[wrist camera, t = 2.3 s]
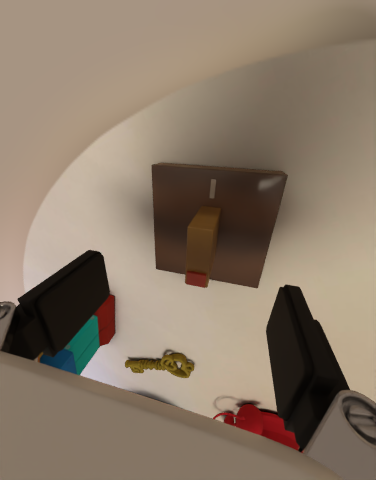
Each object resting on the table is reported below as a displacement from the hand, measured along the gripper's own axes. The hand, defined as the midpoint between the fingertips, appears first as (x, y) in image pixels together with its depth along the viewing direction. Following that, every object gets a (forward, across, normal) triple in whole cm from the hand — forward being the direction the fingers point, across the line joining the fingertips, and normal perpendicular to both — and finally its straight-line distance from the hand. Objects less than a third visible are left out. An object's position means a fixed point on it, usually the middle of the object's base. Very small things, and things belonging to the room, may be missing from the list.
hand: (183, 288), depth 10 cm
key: (+10, +6, +24) cm, 26 cm away
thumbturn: (+7, 0, 0) cm, 7 cm away
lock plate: (+9, 0, 0) cm, 9 cm away
